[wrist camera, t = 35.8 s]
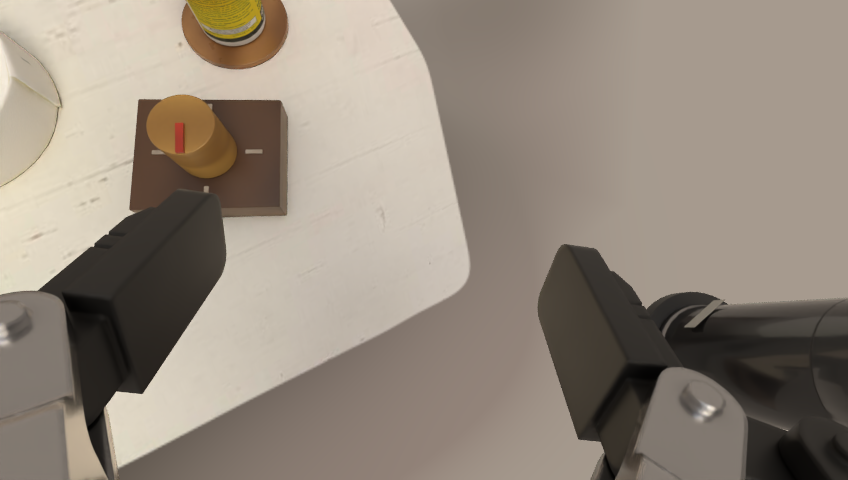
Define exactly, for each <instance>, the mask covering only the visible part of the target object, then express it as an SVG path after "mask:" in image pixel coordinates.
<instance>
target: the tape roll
mask: <svg viewBox="0 0 848 480" xmlns="http://www.w3.org/2000/svg"><path fill="white" fill-rule="evenodd" d="M58 107H61V104H60V100H59V96H58V93H57V90H56V88H55V85H54V83H53V81H52V79H51V78H50V76H49V74H48V73H47V71H46V70H45V69H44V67H43V66H42V65H41V64H40V62H39V61H38V60H37V59H36V58H35V57H34V56H32V55H31V54H30V53H28V52H27V51H26V50H25V49H23V48H22V47H21V46H19V45H18V44H17V43H16V42H14V41H13V40H12V39H10V38H9V37H8V36H6V35H5V34H4V33H3V32H1V31H0V186H2V185H4V184H6V183H8V182H10V181H11V180H13V179H14V178H16V177H17V176H19V175H20V174H22V173H23V172H24V171H25V170H26V169H28V168H29V167H30V166H31V165H32V164H33V163H34V162H35V161H36V160H37V159H38V158H39V156H40V155H41V154H42V152H43V151H44V149H45V148H46V146H47V145H48V143H49V141H50V139H51V137H52V135H53V132H54V129H55V125H56V119H57V109H58Z"/></svg>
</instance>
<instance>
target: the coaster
mask: <svg viewBox="0 0 848 480" xmlns="http://www.w3.org/2000/svg"><path fill="white" fill-rule="evenodd" d="M261 2H262V5H263V9H264V12H265V26H264V29H263V31H262V32H261V34H260V35H259V36H258V37H257V38H256V39H255V40H253V41H252V42H250V43H248V44H245V45H241V46H225V45H221V44H219V43H217V42H215V41H213V40H212V39H211V38H209V37H208V36H207V35H206V33H205V32H204V31H203V29H202V28H201V26H200V24H199V23H198V21H197V19H196V18H195V16H194V14H193V12H192V11H191V9H190V7H189V6H188V4H187V3H186V5H185V7H184V10H183V14H182V28H183V32H184V35H185V38H186V40H187V41H188V43H189V45H190V46H191V47H192V49H193V50H194V51H195V52H196V53H197V54H198V55H199V56H200V57H201V58H203V59H204V60H206V61H208V62H209V63H212V64H214V65H216V66H220V67H224V68H229V69H244V68H250V67H253V66H257V65H259V64H262V63H264V62H265V61H267V60H269V59H270V58H271V57H273V56H274V55H275V54H276V53H277V52H278V51H279V50H280V48H281V47H282V45H283V43H284V42H285V39H286V37H287V32H288V18H287V14H286V11H285V8H284V5H283V4H282V2H281V0H261Z"/></svg>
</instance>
